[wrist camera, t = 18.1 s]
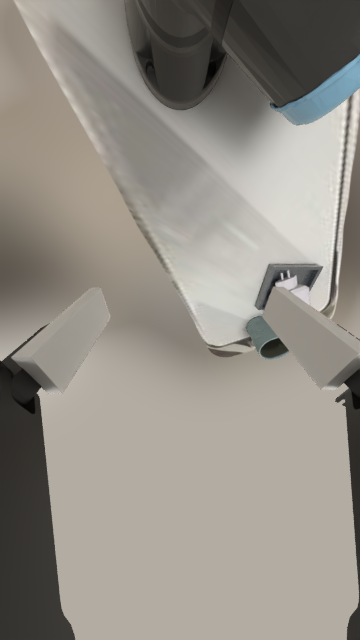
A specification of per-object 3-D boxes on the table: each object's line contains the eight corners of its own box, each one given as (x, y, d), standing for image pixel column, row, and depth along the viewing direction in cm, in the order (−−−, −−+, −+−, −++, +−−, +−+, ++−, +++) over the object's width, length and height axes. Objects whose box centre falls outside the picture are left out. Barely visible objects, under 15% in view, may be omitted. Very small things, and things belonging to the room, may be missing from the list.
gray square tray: (269, 264, 42) (273, 267, 40) (316, 264, 42) (323, 266, 40) (254, 305, 50) (258, 309, 48) (294, 305, 50) (299, 309, 48)
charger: (296, 264, 42) (301, 309, 48) (263, 277, 44) (272, 319, 49) (309, 265, 38) (313, 315, 43) (272, 279, 40) (280, 326, 45)
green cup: (249, 313, 52) (266, 336, 42) (277, 314, 52) (300, 337, 43) (241, 335, 58) (254, 359, 48) (266, 335, 58) (284, 360, 49)
